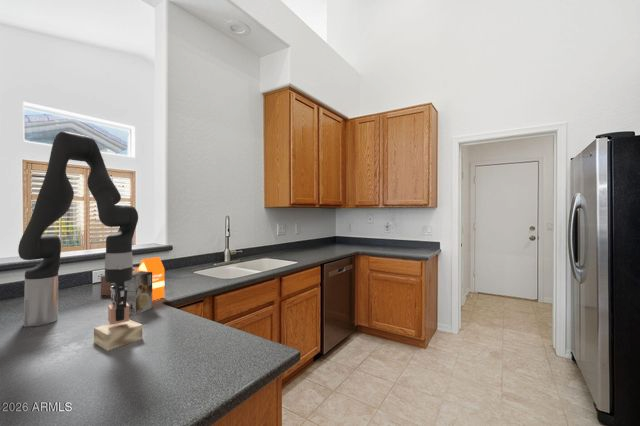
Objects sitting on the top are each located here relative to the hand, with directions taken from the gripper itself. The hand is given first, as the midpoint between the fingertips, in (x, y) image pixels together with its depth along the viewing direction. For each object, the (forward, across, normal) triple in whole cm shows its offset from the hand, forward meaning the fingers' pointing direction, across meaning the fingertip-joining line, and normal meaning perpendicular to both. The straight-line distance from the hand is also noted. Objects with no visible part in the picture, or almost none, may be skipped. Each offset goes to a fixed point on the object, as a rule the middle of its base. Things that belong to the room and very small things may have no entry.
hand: (118, 317), depth 95 cm
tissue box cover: (+8, -74, +15) cm, 76 cm away
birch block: (+8, 0, 0) cm, 8 cm away
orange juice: (+8, -44, +19) cm, 49 cm away
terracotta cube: (+1, 0, 0) cm, 1 cm away
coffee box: (+8, -29, +11) cm, 32 cm away
